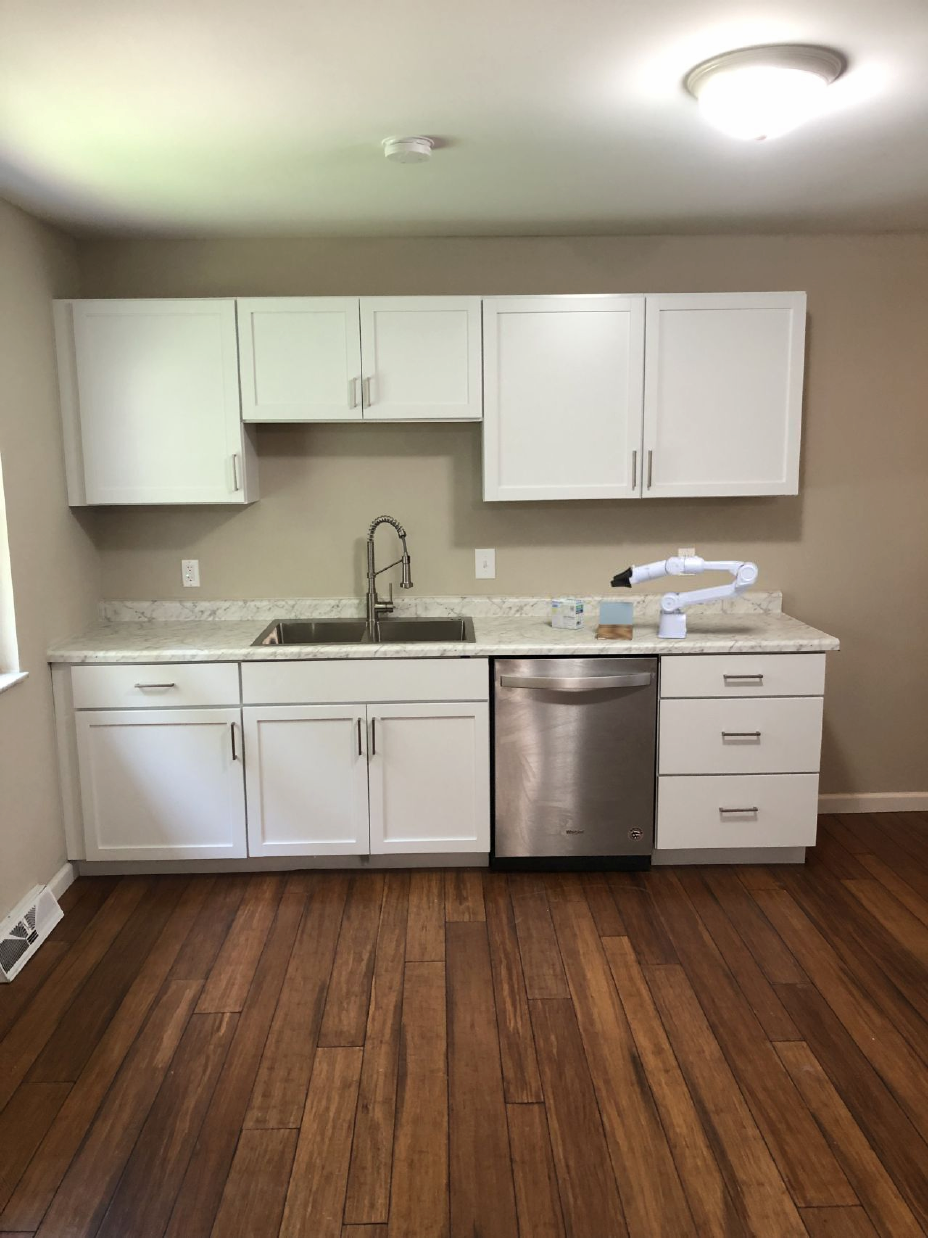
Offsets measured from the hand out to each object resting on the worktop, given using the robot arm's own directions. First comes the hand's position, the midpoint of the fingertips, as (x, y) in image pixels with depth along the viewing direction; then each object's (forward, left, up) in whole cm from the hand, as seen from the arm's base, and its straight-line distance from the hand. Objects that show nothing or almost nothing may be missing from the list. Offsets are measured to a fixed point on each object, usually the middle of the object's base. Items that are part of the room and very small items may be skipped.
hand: (612, 581), depth 338 cm
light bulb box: (+17, -12, -19) cm, 29 cm away
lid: (-2, +2, -11) cm, 11 cm away
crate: (-2, +7, -19) cm, 20 cm away
